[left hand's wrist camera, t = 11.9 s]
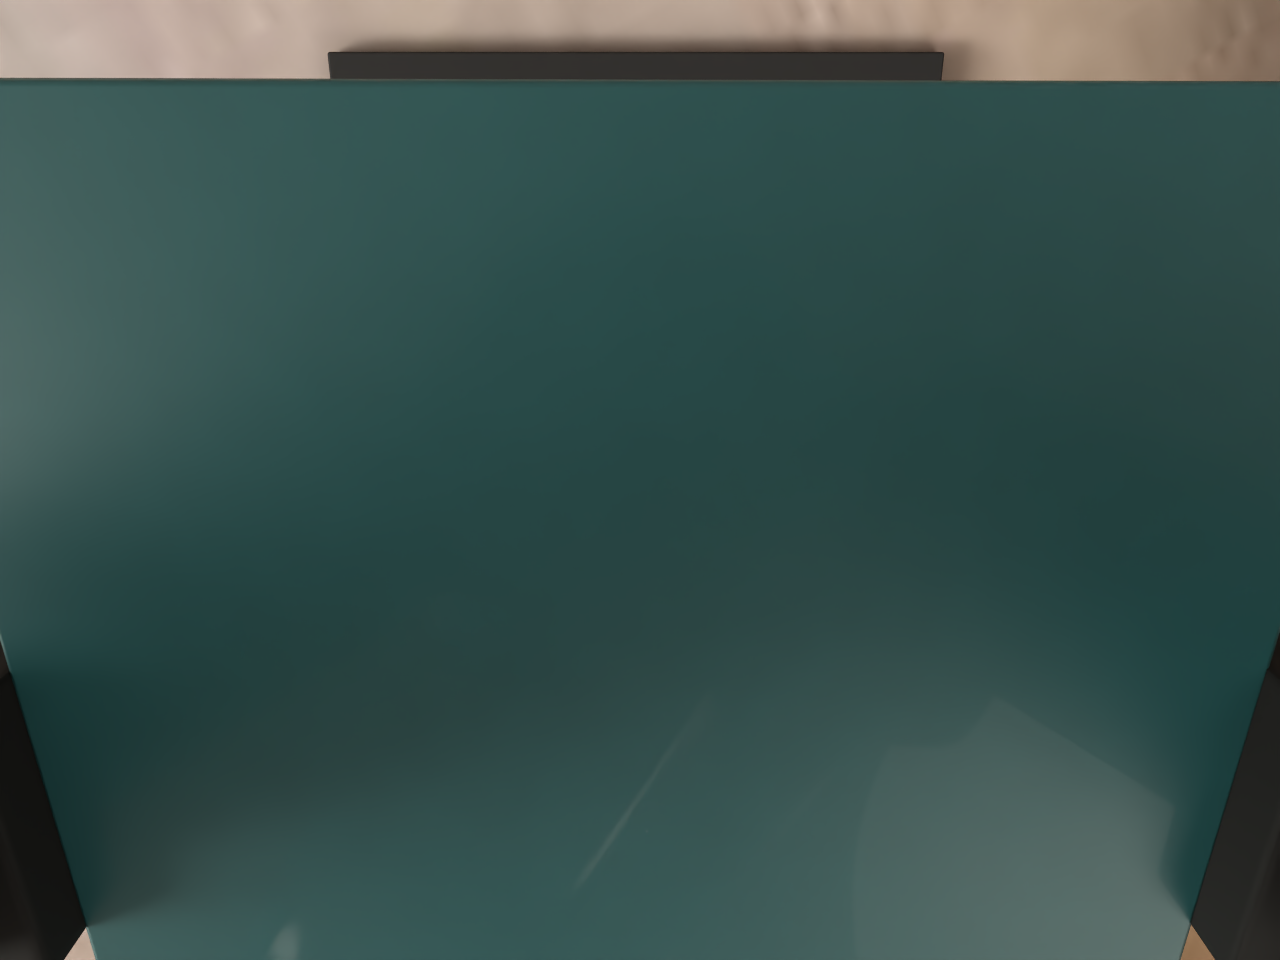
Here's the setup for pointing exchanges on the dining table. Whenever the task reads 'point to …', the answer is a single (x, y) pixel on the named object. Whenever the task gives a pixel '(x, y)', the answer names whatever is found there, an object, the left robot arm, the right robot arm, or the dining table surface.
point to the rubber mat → (638, 65)
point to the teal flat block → (638, 510)
